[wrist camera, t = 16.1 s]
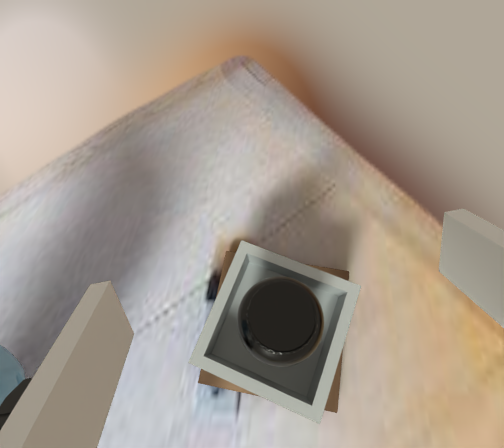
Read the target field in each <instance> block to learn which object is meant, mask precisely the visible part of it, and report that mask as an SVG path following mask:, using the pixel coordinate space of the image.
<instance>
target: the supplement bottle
mask: <svg viewBox="0 0 504 448" xmlns="http://www.w3.org/2000/svg"><path fill="white" fill-rule="evenodd" d="M237 328H238V332H239V336H240V339H241V341H242V343H243V345H244V346H245V348H246V349H247V350H248V352H249V353H250V354H251V355H252V356H254V357H255V358H256V359H257V360H259V361H261V362H263V363H265V364H267V365H270V366H275V367H289V366H293V365H296V364H299V363H301V362H303V361H304V360H306V359H307V358H308V357H310V356H311V355H312V354H313V352H314V351H315V350H316V349H317V347H318V345H319V344H320V341H321V339H322V336H323V332H324V314H323V310H322V307H321V304H320V302H319V300H318V298H317V297H316V295H315V294H314V293H313V292H312V290H311V289H310V288H309V287H307V286H306V285H305V284H303V283H302V282H300V281H298V280H296V279H293V278H290V277H285V276H274V277H269V278H266V279H263V280H261V281H259V282H257V283H256V284H254V285H253V286H252V287H251V288H250V289H249V290H248V291H247V292H246V294H245V295H244V296H243V298H242V300H241V302H240V305H239V308H238V313H237Z"/></svg>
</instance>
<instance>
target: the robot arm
mask: <svg viewBox="0 0 504 448" xmlns="http://www.w3.org/2000/svg"><path fill="white" fill-rule="evenodd" d="M439 272H440V273H442V274H443V275H444V276H445V277H446V278H447V279H448V280H450V281H451V282H452V283H453V284H454V285H455V286H456V287H458V288H459V289H460V290H461V291H462V292H463V293H464V294H466V295H467V296H468V297H469V298H470V299H471V300H472V301H473V302H475V303H476V304H477V305H478V306H479V307H480V308H481V309H483V310H484V311H485V312H486V313H487V314H488V315H489V316H491V317H492V318H493V319H494V320H495V321H496V322H497V323H499V324H500V325H501V326H502V327H503V328H504V230H503V229H501V228H499V227H497V226H495V225H494V224H492V223H490V222H488V221H486V220H484V219H482V218H480V217H479V216H477V215H475V214H473V213H471V212H469V211H467V210H465V209H460V210H454V211H449V212H445V213H444V222H443V232H442V243H441V253H440V264H439ZM133 336H134V332H133V330H132V328H131V326H130V323H129V321H128V319H127V317H126V315H125V312H124V310H123V308H122V306H121V303H120V301H119V299H118V297H117V295H116V292H115V290H114V288H113V286H112V284H111V281H105V282H100V283H95V284H90V286H89V287H88V289H87V291H86V292H85V294H84V295H83V297H82V299H81V300H80V302H79V304H78V305H77V307H76V308H75V310H74V312H73V313H72V315H71V317H70V318H69V320H68V321H67V323H66V325H65V326H64V328H63V330H62V331H61V333H60V334H59V336H58V338H57V339H56V341H55V343H54V344H53V346H52V347H51V349H50V351H49V352H48V354H47V355H46V357H45V359H44V360H43V362H42V364H41V365H40V367H39V368H38V370H37V372H36V373H35V375H34V377H33V378H29V379H25V374H24V370H23V368H22V366H21V364H20V363H19V361H18V360H17V359H16V358H15V357H14V356H13V355H12V354H11V353H10V352H9V351H8V350H7V349H5V348H4V347H3V346H1V345H0V448H97V446H98V443H99V440H100V437H101V434H102V431H103V428H104V424H105V421H106V418H107V415H108V412H109V409H110V406H111V403H112V400H113V397H114V394H115V391H116V388H117V385H118V382H119V379H120V376H121V372H122V369H123V366H124V363H125V360H126V357H127V354H128V351H129V348H130V345H131V342H132V339H133Z"/></svg>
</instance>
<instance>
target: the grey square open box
mask: <svg viewBox="0 0 504 448" xmlns="http://www.w3.org/2000/svg"><path fill="white" fill-rule="evenodd" d="M274 276H285V277H290V278H293V279H296V280H298V281H300V282H302V283H303V284H305V285H306V286H307V287H309V288H310V289H311V290H312V292H313V293H314V294H315V295H316V297H317V298H318V300H319V302H320V304H321V307H322V310H323V314H324V332H323V336H322V339H321V341H320V344H319V345H318V347H317V349H316V350H315V351H314V352H313V354H312V355H311V356H310V357H308V358H307V359H306V360H304V361H303V362H301V363H299V364H296V365H293V366H289V367H275V366H270V365H267V364H265V363H263V362H261V361H259V360H257V359H256V358H255V357H254V356H252V355H251V354H250V353H249V352H248V350H247V349H246V348H245V346H244V345H243V343H242V341H241V339H240V336H239V332H238V328H237V313H238V308H239V305H240V302H241V300H242V298H243V296H244V295H245V294H246V292H247V291H248V290H249V289H250V288H251V287H252V286H253V285H254V284H256V283H257V282H259V281H261V280H263V279H266V278H269V277H274ZM360 288H361V286H360V285H358V284H355V283H352V282H350V281H347V280H344V279H342V278H339V277H337V276H334V275H331V274H329V273H326V272H323V271H321V270H318V269H316V268H313V267H310V266H308V265H305V264H303V263H300V262H297V261H295V260H292V259H289V258H287V257H284V256H282V255H279V254H276V253H274V252H271V251H268V250H266V249H263V248H261V247H258V246H255V245H253V244H250V243H247V242H245V241H242V240H241V242H240V245H239V247H238V249H237V252H236V254H235V256H234V259H233V261H232V263H231V266H230V268H229V270H228V272H227V275H226V277H225V279H224V282H223V284H222V286H221V289H220V291H219V293H218V296H217V298H216V300H215V302H214V305H213V307H212V309H211V312H210V314H209V316H208V319H207V321H206V323H205V326H204V328H203V330H202V332H201V335H200V337H199V339H198V342H197V344H196V346H195V349H194V351H193V353H192V356H191V358H190V360H189V362H188V363H190V364H192V365H194V366H196V367H199V368H201V369H203V370H205V371H207V372H209V373H211V374H214V375H216V376H218V377H220V378H222V379H224V380H226V381H229V382H231V383H233V384H235V385H237V386H239V387H241V388H244V389H246V390H248V391H250V392H252V393H254V394H256V395H258V396H261V397H263V398H265V399H267V400H269V401H271V402H273V403H276V404H278V405H280V406H282V407H284V408H286V409H288V410H291V411H293V412H295V413H297V414H299V415H301V416H303V417H305V418H308V419H310V420H312V421H314V422H316V423H318V424H320V422H321V419H322V415H323V412H324V409H325V405H326V402H327V399H328V395H329V392H330V389H331V385H332V382H333V379H334V375H335V372H336V369H337V365H338V362H339V359H340V355H341V352H342V349H343V345H344V342H345V338H346V335H347V332H348V328H349V325H350V322H351V318H352V315H353V312H354V308H355V305H356V302H357V298H358V295H359V292H360Z"/></svg>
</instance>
